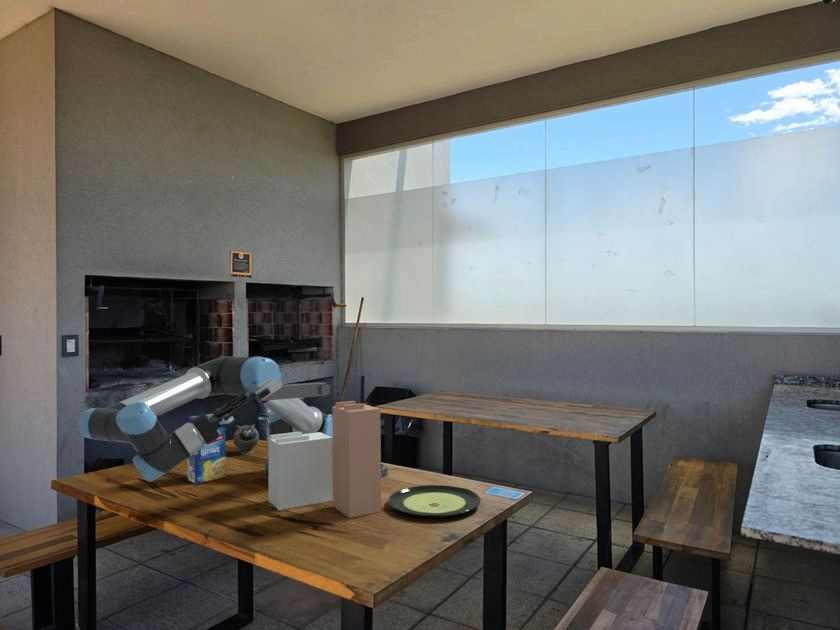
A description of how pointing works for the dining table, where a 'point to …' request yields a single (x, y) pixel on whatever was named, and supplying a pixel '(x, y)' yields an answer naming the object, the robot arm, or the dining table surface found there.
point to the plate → (434, 500)
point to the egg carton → (384, 470)
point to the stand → (356, 458)
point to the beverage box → (208, 459)
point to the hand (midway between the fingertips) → (275, 382)
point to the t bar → (294, 391)
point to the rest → (299, 469)
